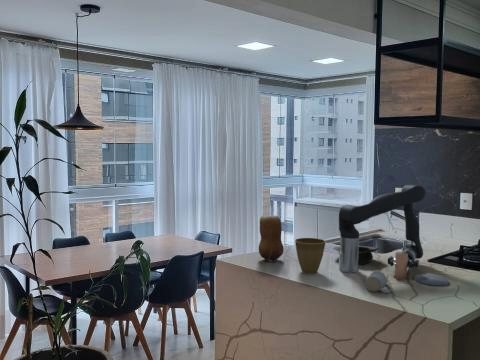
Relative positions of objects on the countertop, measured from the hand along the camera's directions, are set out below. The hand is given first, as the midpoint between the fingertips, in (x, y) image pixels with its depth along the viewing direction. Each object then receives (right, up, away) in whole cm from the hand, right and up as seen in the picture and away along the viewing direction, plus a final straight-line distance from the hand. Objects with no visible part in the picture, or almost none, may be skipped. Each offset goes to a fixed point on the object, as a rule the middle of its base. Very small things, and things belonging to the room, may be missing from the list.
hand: (400, 265), depth 224 cm
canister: (+1, -6, +2) cm, 7 cm away
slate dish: (+14, -7, -3) cm, 16 cm away
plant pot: (-42, -5, +10) cm, 44 cm away
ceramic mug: (-16, -8, -17) cm, 25 cm away
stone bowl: (-13, -4, +34) cm, 37 cm away
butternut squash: (-60, -3, +31) cm, 68 cm away
